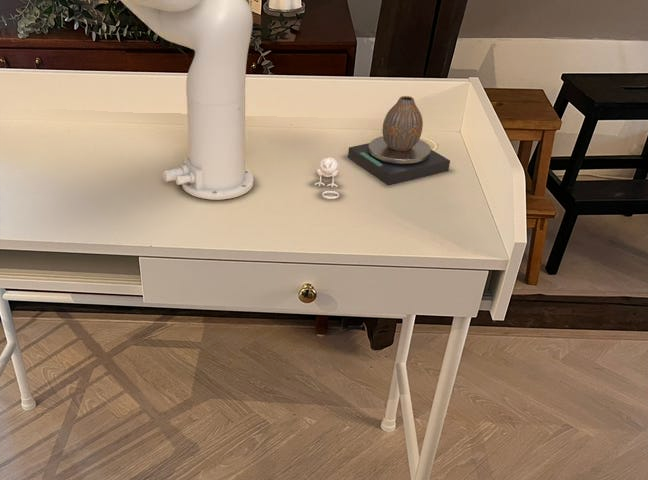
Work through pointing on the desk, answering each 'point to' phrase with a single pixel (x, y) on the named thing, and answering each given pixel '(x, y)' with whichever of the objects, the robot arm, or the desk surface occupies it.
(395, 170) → the scale
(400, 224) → the desk surface
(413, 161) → the scale pan
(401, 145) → the vase
